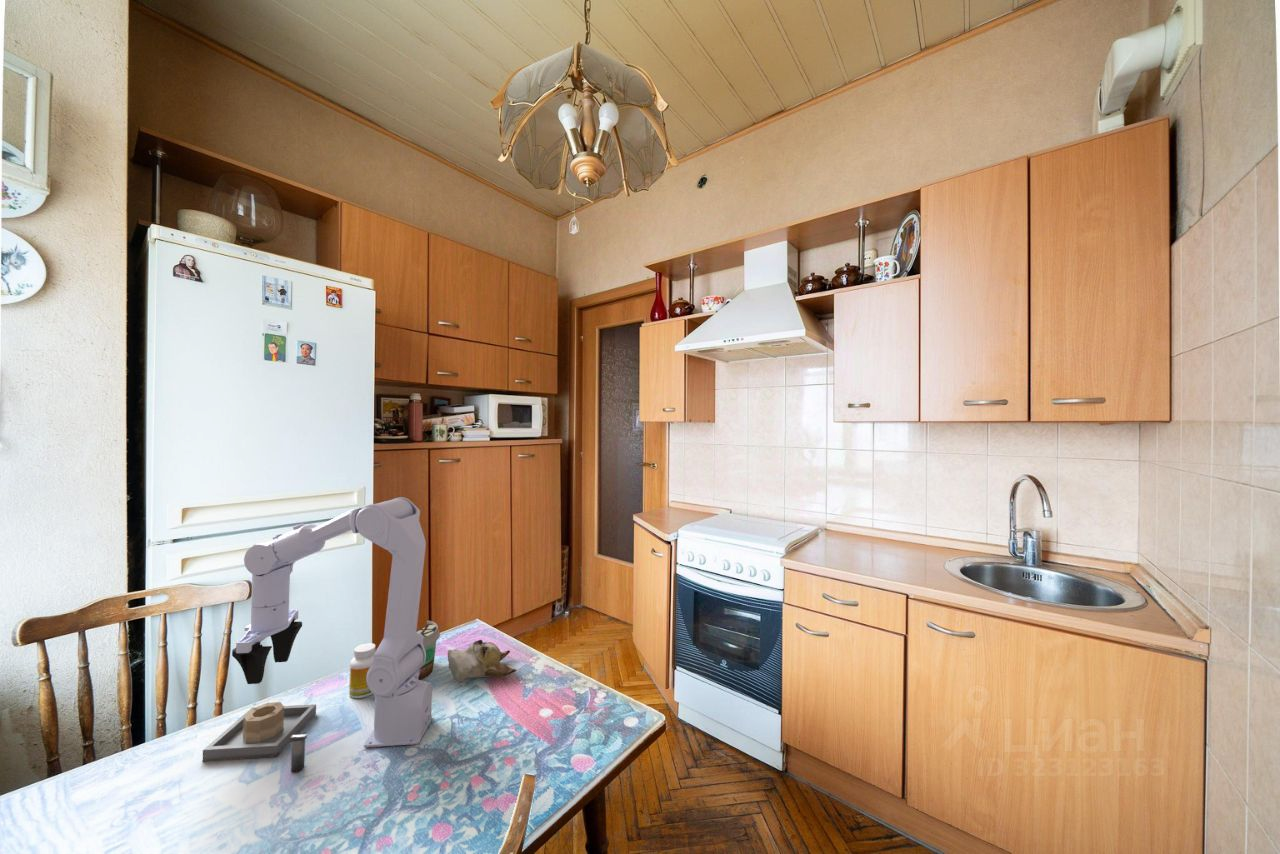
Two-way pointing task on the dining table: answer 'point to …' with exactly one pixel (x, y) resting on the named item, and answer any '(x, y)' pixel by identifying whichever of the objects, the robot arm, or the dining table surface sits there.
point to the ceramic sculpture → (478, 662)
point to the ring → (263, 722)
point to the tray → (235, 747)
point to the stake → (298, 752)
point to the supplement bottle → (361, 670)
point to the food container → (428, 647)
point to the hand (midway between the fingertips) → (268, 671)
